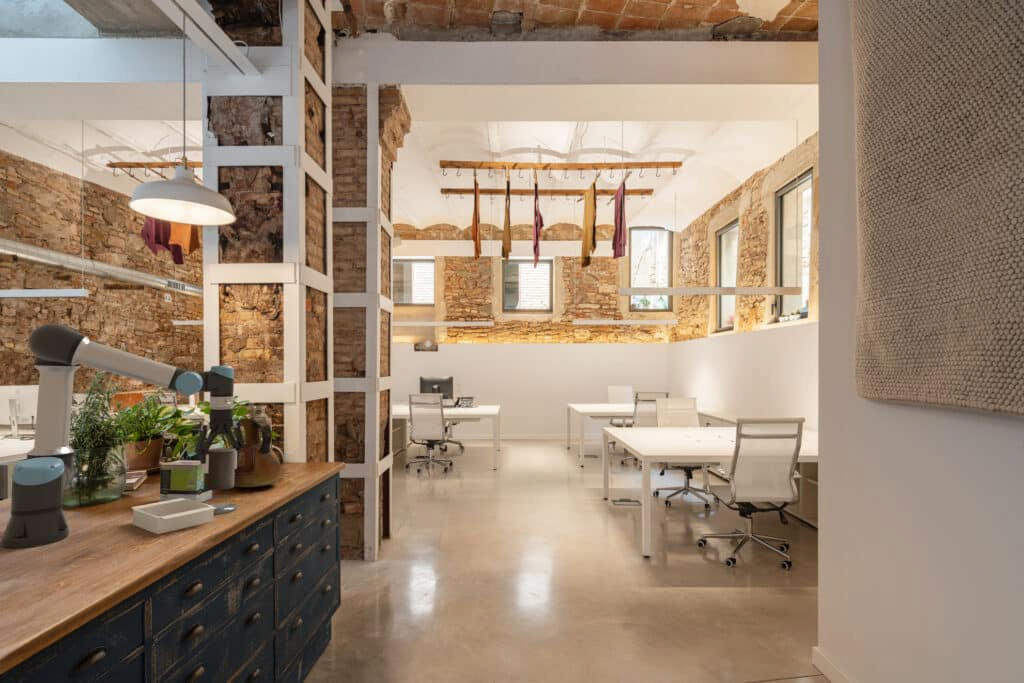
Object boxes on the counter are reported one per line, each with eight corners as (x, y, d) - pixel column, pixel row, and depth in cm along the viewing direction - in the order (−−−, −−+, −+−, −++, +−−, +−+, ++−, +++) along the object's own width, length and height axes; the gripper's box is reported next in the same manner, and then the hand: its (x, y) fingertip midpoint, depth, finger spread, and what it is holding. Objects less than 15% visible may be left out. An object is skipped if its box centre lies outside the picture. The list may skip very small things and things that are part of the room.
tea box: (213, 498, 217) (214, 460, 218) (195, 504, 207) (197, 464, 208) (177, 497, 219) (178, 459, 219) (158, 503, 209) (159, 463, 209)
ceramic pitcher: (258, 480, 251) (260, 413, 252) (291, 484, 242) (293, 415, 243) (219, 488, 233) (221, 417, 234) (252, 494, 224) (254, 419, 225)
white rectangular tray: (162, 535, 170) (162, 519, 170) (128, 523, 183) (129, 507, 183) (218, 522, 184) (218, 507, 184) (183, 511, 197) (183, 497, 197)
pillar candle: (209, 492, 193) (211, 448, 194) (199, 487, 200) (201, 445, 201) (238, 488, 200) (240, 446, 201) (228, 483, 207) (230, 443, 208)
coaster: (210, 516, 192) (210, 513, 192) (192, 511, 198) (192, 508, 198) (243, 509, 202) (243, 506, 202) (225, 504, 208) (225, 501, 208)
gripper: (195, 411, 190) (193, 476, 189) (256, 406, 208) (254, 466, 208) (184, 409, 194) (182, 474, 193) (245, 405, 213) (243, 464, 212)
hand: (219, 470), depth 201 cm, fingers closed on pillar candle, 10 cm apart
